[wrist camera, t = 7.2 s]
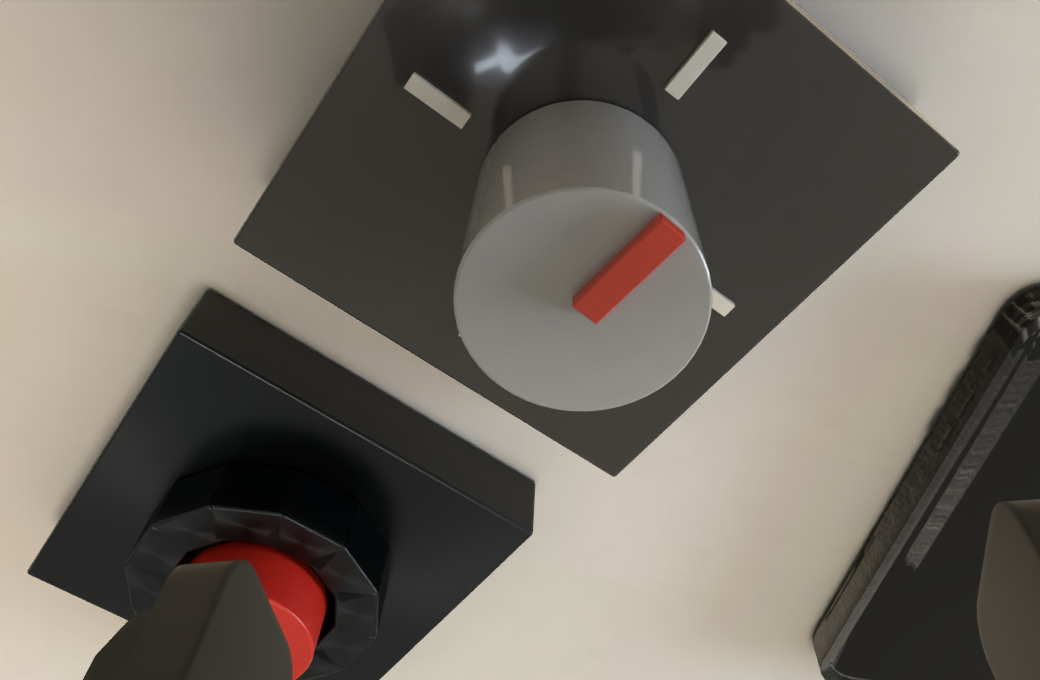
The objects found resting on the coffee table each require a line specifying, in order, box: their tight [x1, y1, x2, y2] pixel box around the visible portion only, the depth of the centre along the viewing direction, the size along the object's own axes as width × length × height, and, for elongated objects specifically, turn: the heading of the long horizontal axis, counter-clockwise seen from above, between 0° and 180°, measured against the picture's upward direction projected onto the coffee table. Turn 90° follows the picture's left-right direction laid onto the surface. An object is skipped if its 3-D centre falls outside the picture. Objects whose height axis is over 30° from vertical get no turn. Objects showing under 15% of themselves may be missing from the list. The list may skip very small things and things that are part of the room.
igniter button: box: [190, 541, 327, 680], centre depth 25 cm, size 4×4×2 cm
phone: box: [813, 287, 1040, 680], centre depth 27 cm, size 8×1×15 cm
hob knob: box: [453, 100, 713, 411], centre depth 17 cm, size 4×4×5 cm
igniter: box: [28, 289, 535, 680], centre depth 27 cm, size 11×11×4 cm
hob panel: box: [234, 0, 960, 477], centre depth 20 cm, size 11×11×3 cm
